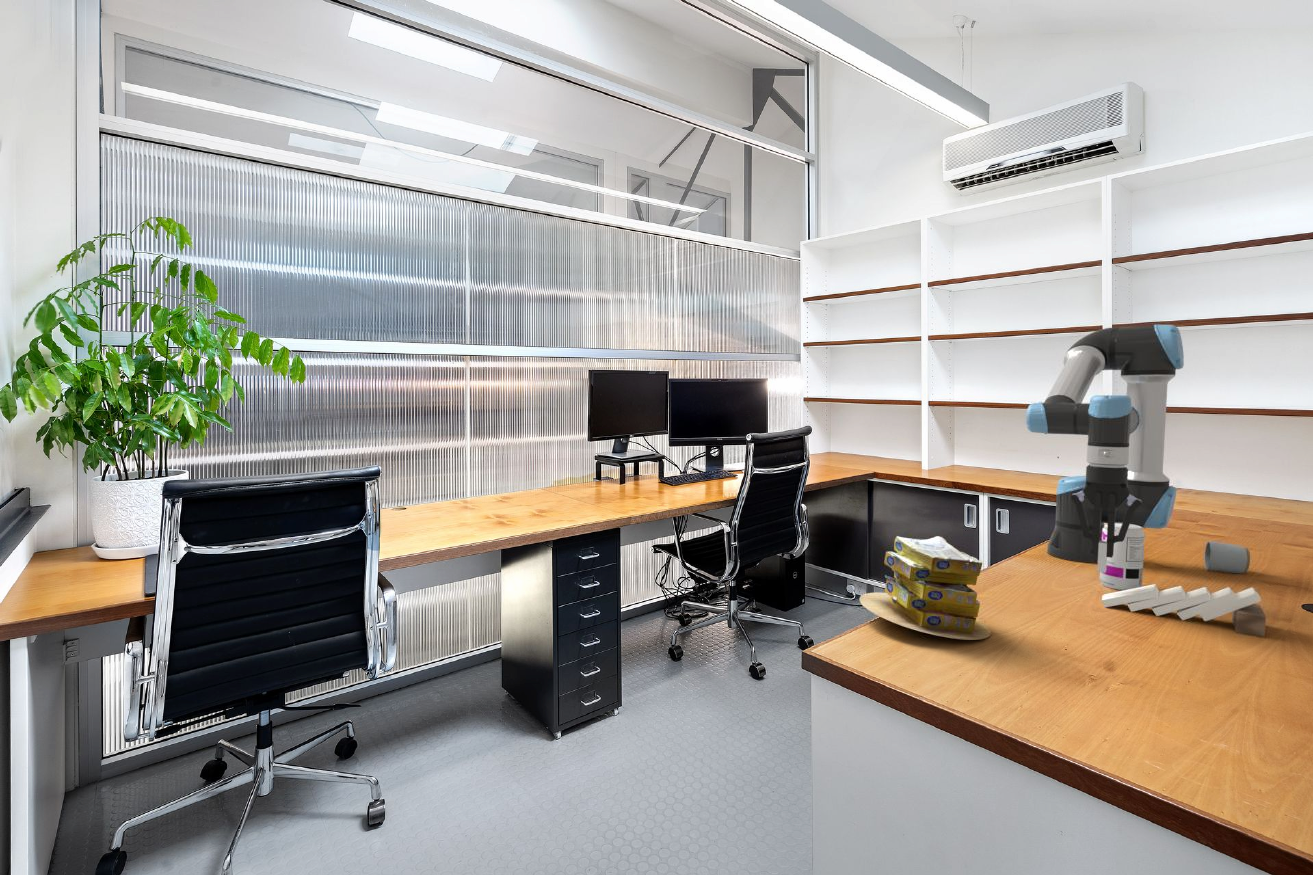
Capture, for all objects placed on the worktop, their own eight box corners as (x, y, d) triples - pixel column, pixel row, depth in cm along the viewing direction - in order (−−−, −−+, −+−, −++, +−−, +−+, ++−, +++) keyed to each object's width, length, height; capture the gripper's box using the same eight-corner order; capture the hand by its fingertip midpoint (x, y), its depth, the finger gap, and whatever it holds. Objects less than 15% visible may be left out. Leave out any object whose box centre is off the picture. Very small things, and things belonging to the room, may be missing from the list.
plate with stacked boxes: (964, 605, 141) (966, 530, 139) (1013, 650, 116) (1016, 560, 115) (849, 601, 143) (851, 528, 142) (873, 643, 119) (875, 556, 118)
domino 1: (1101, 600, 139) (1155, 589, 133) (1103, 594, 143) (1155, 583, 137) (1104, 607, 139) (1158, 596, 133) (1106, 601, 143) (1158, 591, 137)
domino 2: (1127, 604, 136) (1181, 591, 131) (1128, 598, 140) (1181, 585, 134) (1131, 611, 136) (1186, 598, 130) (1132, 605, 140) (1185, 592, 134)
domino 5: (1199, 614, 129) (1255, 593, 124) (1198, 607, 133) (1252, 587, 128) (1205, 621, 129) (1261, 600, 123) (1203, 614, 132) (1258, 594, 127)
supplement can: (1102, 588, 152) (1105, 527, 151) (1097, 579, 159) (1100, 520, 158) (1144, 593, 148) (1148, 530, 147) (1137, 584, 156) (1140, 524, 154)
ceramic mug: (1250, 577, 161) (1252, 547, 161) (1208, 572, 166) (1210, 543, 165) (1239, 568, 171) (1241, 540, 170) (1199, 563, 175) (1201, 536, 174)
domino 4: (1176, 613, 131) (1230, 592, 126) (1176, 606, 135) (1228, 586, 130) (1182, 620, 131) (1236, 600, 125) (1182, 613, 135) (1234, 593, 129)
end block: (1236, 632, 124) (1237, 612, 124) (1232, 619, 131) (1233, 600, 131) (1264, 637, 122) (1265, 616, 121) (1258, 623, 129) (1260, 604, 128)
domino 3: (1152, 609, 134) (1206, 592, 128) (1152, 602, 138) (1205, 586, 132) (1156, 616, 133) (1211, 600, 128) (1156, 609, 137) (1210, 593, 132)
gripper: (1069, 464, 140) (1065, 569, 142) (1144, 469, 132) (1138, 579, 134) (1073, 461, 146) (1068, 562, 148) (1144, 465, 138) (1139, 572, 140)
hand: (1101, 570), depth 141 cm, fingers closed
